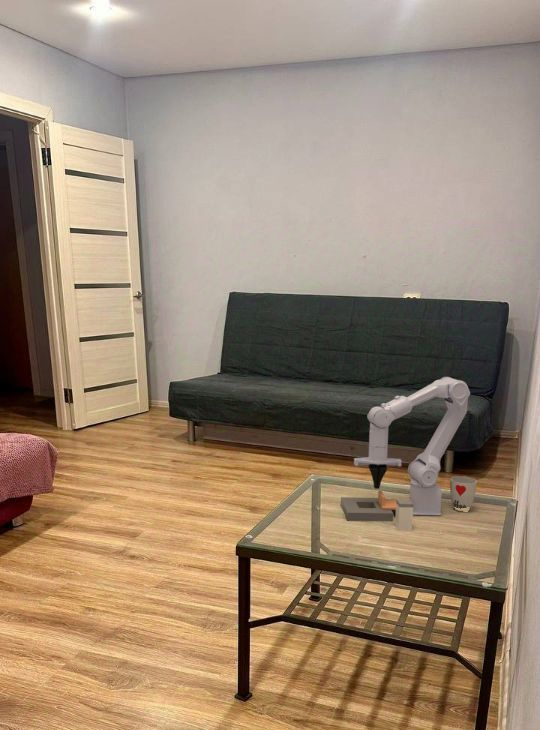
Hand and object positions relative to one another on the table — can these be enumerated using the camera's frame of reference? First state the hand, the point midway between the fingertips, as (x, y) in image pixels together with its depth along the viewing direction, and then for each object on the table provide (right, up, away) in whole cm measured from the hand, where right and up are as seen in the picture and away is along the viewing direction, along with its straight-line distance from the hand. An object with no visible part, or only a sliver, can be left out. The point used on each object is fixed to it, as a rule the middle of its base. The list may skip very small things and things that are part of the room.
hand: (376, 487), depth 187 cm
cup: (+29, -9, +6) cm, 30 cm away
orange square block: (+5, -6, +1) cm, 8 cm away
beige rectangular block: (+6, -10, -11) cm, 16 cm away
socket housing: (-3, -8, +1) cm, 9 cm away
